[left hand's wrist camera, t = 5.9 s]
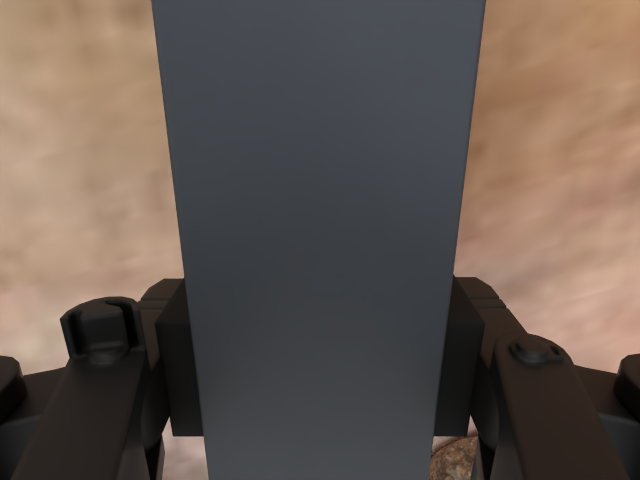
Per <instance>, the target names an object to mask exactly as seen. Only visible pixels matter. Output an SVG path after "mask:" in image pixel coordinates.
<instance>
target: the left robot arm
mask: <svg viewBox="0 0 640 480" xmlns="http://www.w3.org/2000/svg"><path fill="white" fill-rule="evenodd" d="M60 322H61V326H62V330H63V334H64V338H65V342H66V346H67V349H68V353H69V357H70V358H69V360H68V362H67V365H66V367H63V368H59V369H55V370H50V371H44V372H39V373H34V374H29V375H24V376H23V374H22V371H21V367H20V364H19V362H18V361H17V360H15V359H14V358H13V357H7V356H0V480H162V473H163V464H164V456H165V450H164V443H163V438H162V432H163V430H164V428H165V425H166V423H167V421H168V418H169V416H170V421H171V427H172V434H173V436H204V435H203V426H202V418H201V410H200V401H199V393H198V385H197V376H196V368H195V360H194V351H193V343H192V335H191V326H190V318H189V310H188V302H187V293H186V285H185V277H184V278H183V279H163V280H161V281H160V282H158V283H156V284H155V285H153V286H152V287H150V288H149V289H148V290H147V291H146V293H145V294H144V295H143V296H142V298H141V301H139V302H136V301H135V300H133V299H131V298H126V297H104V298H99V299H93V300H91V301H88V302H85V303H82V304H79V305H77V306H76V307H74V308H72V309H70V310H69V311H67V312H66V313H65V314H64V315H63V316H62V317H61V318H60ZM470 415H471V417H472V419H473V422H474V424H475V426H476V428H477V431H478V438H477V443H476V449H475V455H474V460H473V466H472V472H471V478H470V480H476V479H477V474H478V480H640V354H633V355H628V356H626V357H625V358H624V359H622V360H621V363H620V366H619V369H618V373H617V374H616V373H611V372H605V371H600V370H595V369H590V368H585V367H581V366H577V365H574V364H573V362H572V360H571V358H570V356H569V355H568V354H567V353H566V351H565V350H564V349H563V348H561V347H560V346H558V345H557V344H555V343H554V342H552V341H550V340H548V339H545V338H543V337H540V336H537V335H532V334H528V333H527V332H526V331H525V329H524V328H523V327H522V326H521V324H520V323H519V322H518V320H517V319H516V318H515V317H514V315H513V314H512V313H511V312H510V310H509V309H508V308H506V305H505V304H504V303H503V301H502V300H501V299H499V296H498V295H497V294H496V292H495V291H494V290H493V289H492V287H491V286H489V285H488V284H486V283H484V282H483V281H481V280H479V279H478V278H476V277H455V276H454V274H453V279H452V287H451V295H450V304H449V312H448V320H447V329H446V337H445V345H444V354H443V362H442V370H441V379H440V387H439V395H438V403H437V412H436V420H435V428H434V436H467V432H468V426H469V420H470Z"/></svg>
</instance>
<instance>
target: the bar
mask: <svg viewBox="0 0 640 480" xmlns="http://www.w3.org/2000/svg"><path fill="white" fill-rule="evenodd" d="M151 2H152V11H153V19H154V27H155V36H156V44H157V52H158V60H159V69H160V77H161V85H162V94H163V102H164V110H165V119H166V127H167V135H168V144H169V152H170V160H171V169H172V177H173V185H174V193H175V202H176V210H177V218H178V227H179V235H180V243H181V252H182V260H183V268H184V277H185V285H186V293H187V302H188V310H189V318H190V326H191V335H192V343H193V351H194V360H195V368H196V376H197V385H198V393H199V401H200V410H201V418H202V426H203V435H204V443H205V451H206V459H207V468H208V476H209V480H428V478H429V470H430V462H431V453H432V445H433V437H434V428H435V420H436V412H437V403H438V395H439V387H440V379H441V370H442V362H443V354H444V345H445V337H446V329H447V320H448V312H449V304H450V295H451V287H452V279H453V270H454V262H455V254H456V245H457V237H458V229H459V221H460V212H461V204H462V196H463V187H464V179H465V171H466V162H467V154H468V146H469V137H470V129H471V121H472V112H473V104H474V96H475V87H476V79H477V71H478V63H479V54H480V46H481V38H482V29H483V21H484V13H485V4H486V0H151Z"/></svg>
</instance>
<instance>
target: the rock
mask: <svg viewBox="0 0 640 480" xmlns="http://www.w3.org/2000/svg"><path fill="white" fill-rule="evenodd" d="M477 438H478V436H475V437H469V438H464V439H460V440H458V441H455V442H453V443H451V444H449V445H448V446H446V447H444V448H442V449H440V450H439V451H438V452H437V453H436V454H435V455H434V456H433V457H432V458H431V462H430V470H429V478H428V480H470V478H471V472H472V466H473V460H474V455H475V449H476V443H477ZM476 480H478V474H477V479H476Z"/></svg>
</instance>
